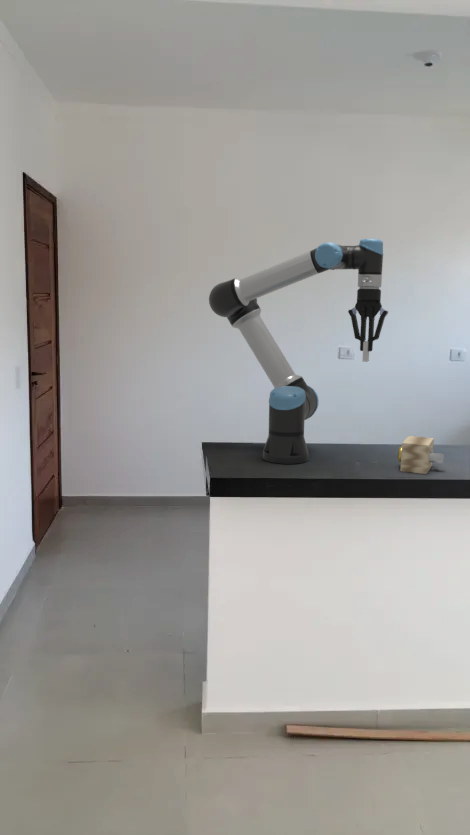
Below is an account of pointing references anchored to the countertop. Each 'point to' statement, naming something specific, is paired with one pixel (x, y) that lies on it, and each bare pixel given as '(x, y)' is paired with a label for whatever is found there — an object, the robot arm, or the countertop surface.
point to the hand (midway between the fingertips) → (365, 361)
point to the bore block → (416, 454)
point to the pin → (433, 457)
